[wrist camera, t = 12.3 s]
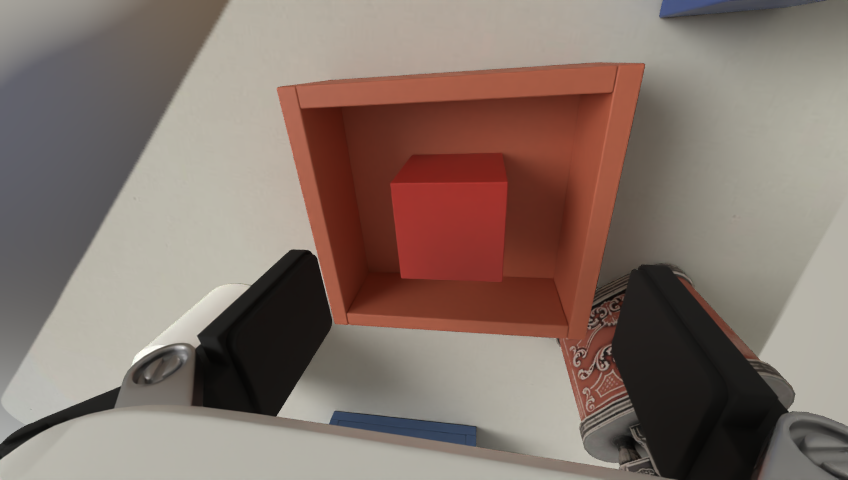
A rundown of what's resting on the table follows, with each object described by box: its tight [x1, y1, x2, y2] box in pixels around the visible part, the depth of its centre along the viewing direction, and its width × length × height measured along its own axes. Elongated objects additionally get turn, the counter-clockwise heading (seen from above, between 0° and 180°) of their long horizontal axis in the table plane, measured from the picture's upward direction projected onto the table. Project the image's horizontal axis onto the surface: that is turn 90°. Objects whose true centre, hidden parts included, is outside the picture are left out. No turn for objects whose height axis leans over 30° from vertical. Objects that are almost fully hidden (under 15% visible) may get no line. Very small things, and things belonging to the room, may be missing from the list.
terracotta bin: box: [277, 62, 645, 340], centre depth 16 cm, size 13×12×5 cm
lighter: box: [556, 263, 795, 477], centre depth 16 cm, size 8×3×10 cm, turn 136°
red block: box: [390, 153, 508, 282], centre depth 16 cm, size 4×4×4 cm
